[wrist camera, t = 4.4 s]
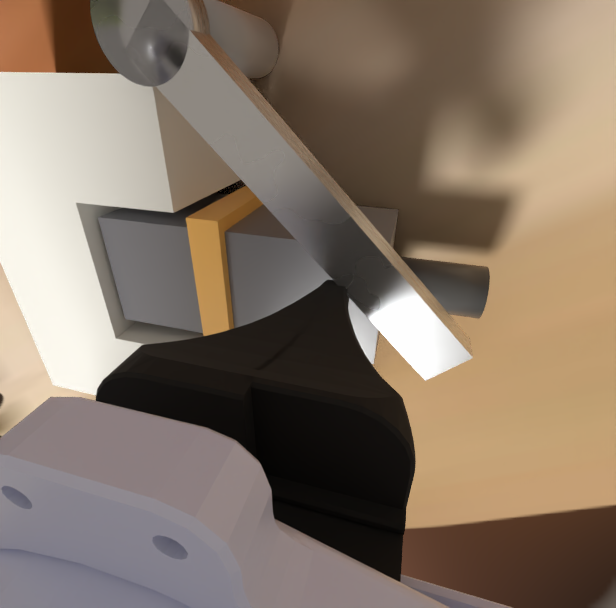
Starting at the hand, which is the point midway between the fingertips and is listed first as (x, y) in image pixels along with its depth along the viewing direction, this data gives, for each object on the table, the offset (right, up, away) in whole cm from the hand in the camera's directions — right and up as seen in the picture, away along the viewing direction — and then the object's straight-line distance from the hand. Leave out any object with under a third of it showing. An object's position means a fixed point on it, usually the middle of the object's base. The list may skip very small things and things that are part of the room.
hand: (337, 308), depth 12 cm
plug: (-1, +3, +6) cm, 7 cm away
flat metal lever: (-1, +3, -1) cm, 4 cm away
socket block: (-7, +5, +7) cm, 11 cm away
